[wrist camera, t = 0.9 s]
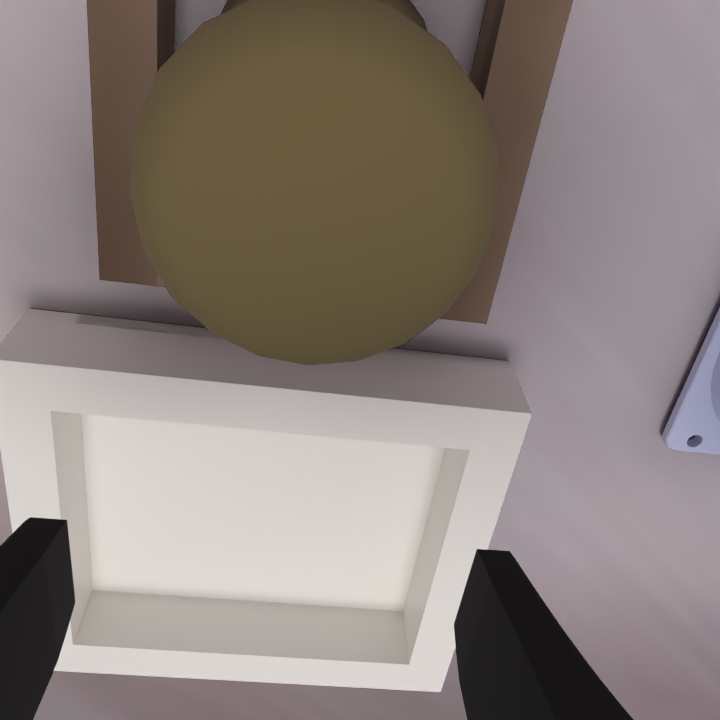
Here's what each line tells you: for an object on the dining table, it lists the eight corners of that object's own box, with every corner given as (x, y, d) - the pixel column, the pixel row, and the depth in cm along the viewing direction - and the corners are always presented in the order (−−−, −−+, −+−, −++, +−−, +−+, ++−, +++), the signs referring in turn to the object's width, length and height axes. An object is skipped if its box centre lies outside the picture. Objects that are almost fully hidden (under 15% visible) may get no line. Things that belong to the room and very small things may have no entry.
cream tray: (508, 360, 22) (532, 413, 20) (430, 626, 29) (440, 692, 26) (29, 308, 21) (-13, 358, 18) (60, 601, 27) (32, 669, 25)
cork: (169, -11, 17) (-38, 33, 7) (413, -79, 16) (532, -125, 7) (247, 221, 20) (172, 467, 10) (454, 171, 19) (577, 380, 10)
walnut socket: (577, -121, 16) (607, -131, 14) (473, 293, 21) (486, 323, 19) (105, -211, 15) (75, -232, 13) (119, 251, 20) (99, 279, 18)
